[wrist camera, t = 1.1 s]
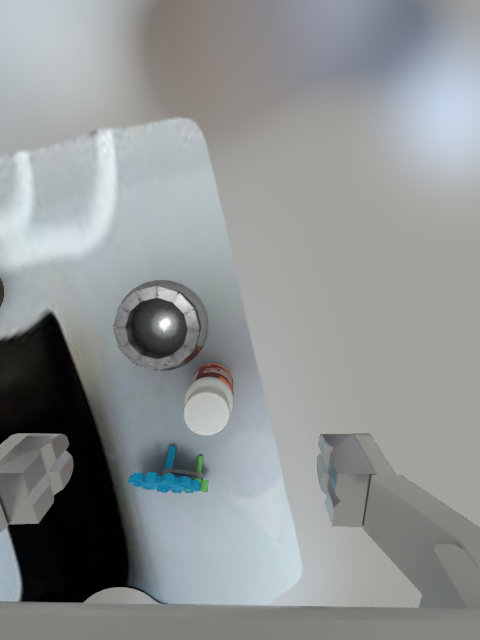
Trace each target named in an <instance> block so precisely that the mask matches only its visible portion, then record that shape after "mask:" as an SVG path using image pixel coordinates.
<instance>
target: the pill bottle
mask: <svg viewBox="0 0 480 640" xmlns="http://www.w3.org/2000/svg"><path fill="white" fill-rule="evenodd" d="M233 404H234V397H233V379H232V376H231V374H230V372H229V370H228V369H227V368H226V367H224V366H223V365H221V364H218V363H208V364H205V365H203V366H201V367H200V368H198V369H197V371H196V372H195V373H194V375H193V377H192V380H191V382H190V385H189V387H188V389H187V391H186V394H185V398H184V407H185V408H184V420H185V423H186V425H187V426H188V427H189V429H190V430H192V431H193V432H195V433H196V434H199V435H203V436H209V435H213V434H216V433H218V432H220V431H221V430H222V429H223V428H224V427H225V426H226V424H227V422H228V419H229V415H230V414H231V412H232V409H233Z"/></svg>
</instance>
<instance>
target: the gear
mask: <svg viewBox="0 0 480 640" xmlns="http://www.w3.org/2000/svg"><path fill="white" fill-rule="evenodd" d="M175 451H176V447H175V446H169V451H168V456H167V461H166V465H165V468H163V469H162V474H161V476H157V473H154V472H147V475H146V476H145V475H144V474H143V473H134V475H131V476H130V478H129V481H128V483H132V484H133V486H136V487H143V489H147V490H151V489H157V491H160V492H167V491H168V490H172V492H173V493H181V490H182V491H185V492H186V493H193V492H194V491H203V492H207V491H208V482H209V481H208V480H203V476H204V474H203V473H201V469H202V461H203V456H198V462H197V469H196V472H192V471H185V470H177V469H172V466H173V461H174V456H175ZM175 475H181V476H183V477H175ZM185 476H188V477H185ZM189 477H192V479H194V480H190V479H191V478H189ZM200 487H201V488H200Z"/></svg>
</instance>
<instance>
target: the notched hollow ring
mask: <svg viewBox="0 0 480 640" xmlns="http://www.w3.org/2000/svg"><path fill="white" fill-rule="evenodd" d="M113 327H116V328H113V329H114V333H115V337H116V340H117V344H118V347H119V348H121V347H122V348H121V349H120V350H121V351H122V352H123V353H124V354H125V355H126V356H127V357H128V358H129V359H130V360H131V361H132V362H133V363H134V364H135V363H136V365H138V366H141V367H145V368H148V369H152V370H172V369H176V368H179V367H181V366H183V365H185V364H187V363H188V362H190V361H191V360H192V359H193V358H194V357H195V356H196V355H197V354H198V353H199V351H200V350H201V348H202V346H203V344H204V342H205V339H206V336H207V330H208V321H207V315H206V312H205V309H204V307H203V305H202V303H201V302H200V300H199V299H198V298H197V296H196V295H195V294H194V293H193V292H192V291H190V290H189V289H187V288H186V287H184V286H182V285H180V284H177V283H174V282H170V281H152V282H148V283H144V284H142V285H140V286H138V287H137V288H135V289H133V290H132V291H131V292H130V293H129V294H128V295H127V296H126V297H125V298H124V300H123V301H122V303H121V305H120V307H118V311H117V315H116V318H115V322H114V326H113Z"/></svg>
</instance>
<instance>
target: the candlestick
mask: <svg viewBox="0 0 480 640" xmlns="http://www.w3.org/2000/svg"><path fill="white" fill-rule="evenodd" d="M3 296H4V288H3V284H2V281H1V279H0V306H1V304H2V301H3Z"/></svg>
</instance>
